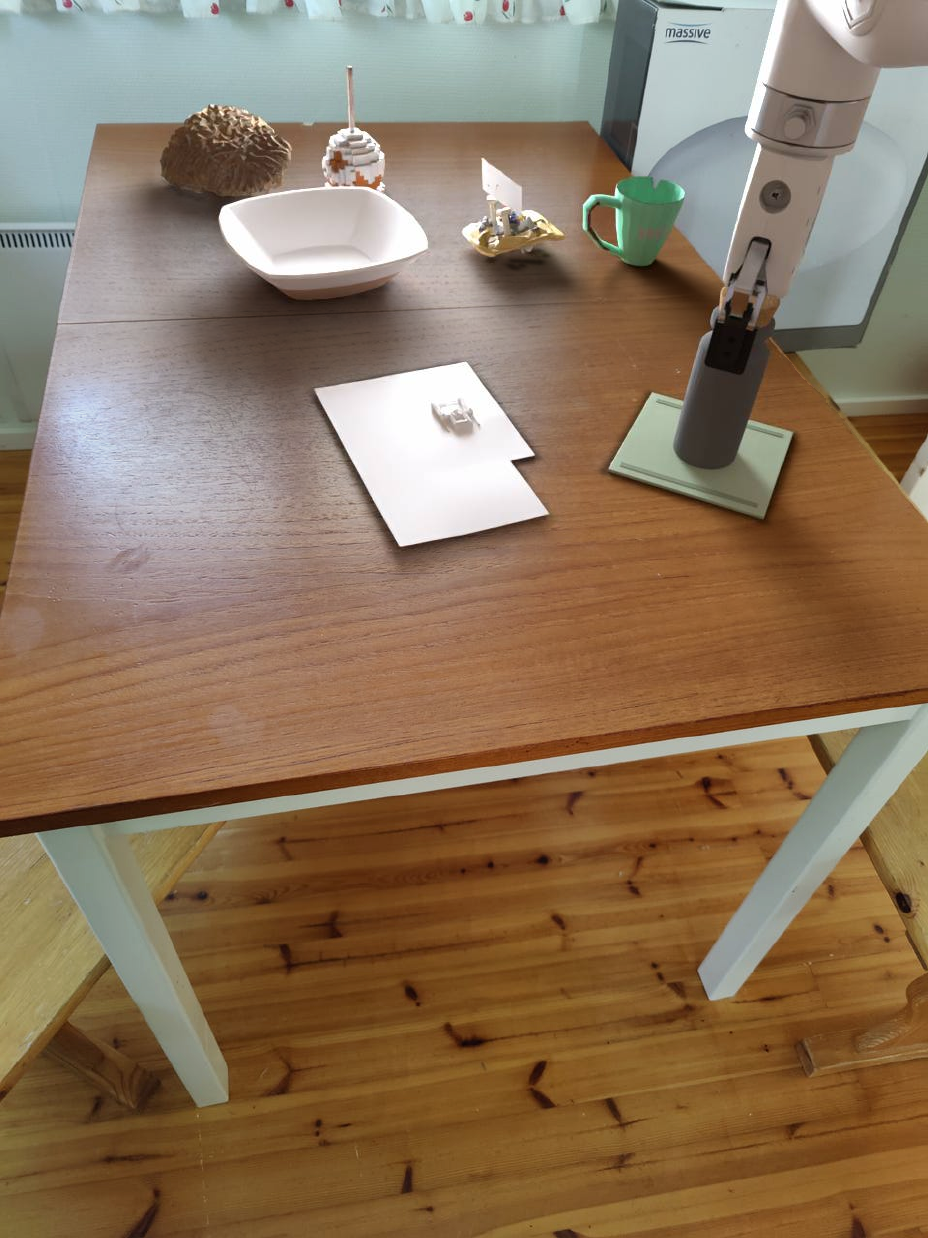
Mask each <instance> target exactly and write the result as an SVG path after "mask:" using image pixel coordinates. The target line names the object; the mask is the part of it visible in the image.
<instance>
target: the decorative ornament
mask: <svg viewBox="0 0 928 1238" xmlns="http://www.w3.org/2000/svg"><path fill="white" fill-rule="evenodd" d="M353 71H354V70H353V66H352V65H346V87H347V90H346V91H347V109H348V128H343V129H340V130H338V131H337V134H333V135H332V136H330V137H329V140H328V146H326V147H325V148H326V154H325V156H322V159H321V168H322V171H323V176H324V177H325V179H326V182H324V186H323V188H325V187H368V188H371V189H373V190H375V191H377V192H380V193H382V194H384V195H385V191H386V185H385V184H384V183H383V182H382V178H384V177H385V173H386V170H385V169H386V168H385V167H386V166H385V165H386V164H385V163H386V162H385V154H384V153H383V152H382V151H381V145H380V144H379V143H378V142H377V141H376V140H375V139H374V138H373V137H372V136H371V135H370V134H369V133H368V132H367V131H361V129H359V128H358V127H356V124H355V122H356V121H355V100H354V99H355V98H354V96H355V95H354V74H353V73H354V72H353Z"/></svg>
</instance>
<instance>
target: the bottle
mask: <svg viewBox="0 0 928 1238" xmlns="http://www.w3.org/2000/svg"><path fill="white" fill-rule="evenodd" d="M728 289H729V287H727V286H726V285H724V287H722V288H721V290H720V294H719V295H720V296H719V297H720V298H719V305H717V306H716V307H715V308H714V309H713V311H712V313H711V317H710V320H709V323H710V327H711V329H712V330H710V331H708V332H706V333H705V334H704V335H702V337H701V338H700V341H699V344H698V348H697V351H696V355H695V358H694V362H693V365H692V369H691V373H690V377H689V381H688V384H687V388H686V392H685V394H684V399H683V401H684V402H683V406H682V410H681V414H680V418H679V421H678V425H677V429H676V433H675V437H674V442H673V448H674V451H675V453H676V454H677V455H678V457H680V458H681V459H682V460H684V461H685V462H687V463H689V464H691V465H693V466H697V467H700V468H706V469H717V468H722V467H726V466H728V465H730V464H731V463H732V462H733V461H734V459H735V457H736V455H737V452H738V449H739V447H740V444H741V441H742V438H743V435H744V432H745V429H746V426H747V423H748V420H750V417H751V414H752V411H753V409H754V406H755V403H756V399H757V396H758V393H759V390H760V386H761V384H762V381H763V378H764V375H765V373H766V369H767V366H768V363H769V360H770V356H771V350H770V347H769V345H768V343H766V341H767V340H769V339H770V338H772V336H773V333H774V331H775V328H776V319H775V317H774V316H775V314H776V312H777V311H778V309H779V308H780V306H781V299H779V300H778V299H776V296H772V295H768V293H767V296H766V297H765V300H764V303H763V306H762V308H761V311H760V314H759V317H758V320H757V322H756V325H755V326H759V328H758V331H757V334H756V337H755V341H754V344H753V347H752V350H751V353H750V356H749V359H748V363H747V366H746V369H745V371H744V373H743V374H741V375H737V374H733V373H729V372H725V371H722V370H718V369H714V368H711V367H707V366H706V365H705V363H704V361H705V357H706V354H707V350H708V346H709V343H710V339H711V335H712V332H713V328H714V325H715V321H716V318H717V316H719V314H720V311H721V308H722V306H723V303H724V300H725V297H726V294H727V291H728ZM756 299H757V297H755V296H751V299H750V302H751V303H753V307H752V308H754V305H755V302H756Z"/></svg>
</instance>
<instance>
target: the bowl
mask: <svg viewBox="0 0 928 1238" xmlns="http://www.w3.org/2000/svg"><path fill="white" fill-rule="evenodd" d="M324 187H325V186H324ZM324 187H315V188H304V189H294V190H288V191H287V190H286V191H282V192H275V193H269V194H262V195H259V196H256V197H253V196H252V197H249V198H244V199H241V200H238V201H235V202H232V203H229V204H226V205H223V206H222V207H221V209H220V212H219V215H218V220H217V221H218V224H219V230H220V234H221V236H222V238H223V240H224V243H225V245H226V246H227V248H228V249H229V250H230V251H231V252H232V253H233V254H234V256H235V257H236V258H238V259H239V260H240V262H242V263H243V264H244V265H245V266H246V267H247V268H248V269H250V270H251V271H252V272H254V273H255V274H256V275H258V276H259V277H261V278H262V279H263V280H265V281H266V282H268V283H269V284H270V285H272V286H274V287H275V288H276V289H278V290H279V291H280V292H282V293H283V294H284V295H286V296H288V297H290V298H292V299H295V300H298V301H299V300H301V301H312V300H326V299H335V298H342V297H343V298H344V297H348V296H353V295H357V294H361V293H364V292H367V291H371V290H373V289H377V288H380V287H382V286H383V285H386V284H387V283H388V282H389V281H390V280H392V279H393V278H394V277H396V276H397V275H399V274H400V273H401V272H403V271H404V270H405V269H407V268H408V267H410V266H411V265H412V264H413V263H415V262H417V261H418V260H419V259H420V258H422V257H423V256H424V255H426V254H427V253H428V251H429V244H428V237H427V235H426V234H425V232H424V230H423V228H422V226H421V225H420V224H419V223H418V221H417V220H416V219H415V218H414V216H413V215H412V214H411V213H410V212H408V210H406V209H405V207H403V206H402V205H400V204H399V203H397V202H396V201H395V200H393V199H391V198H390V197H389V196H387V195H386V194H385V193H384V194H382V193H380V192H377V191H375V190H373V189H371V188H368V187H325V188H324Z"/></svg>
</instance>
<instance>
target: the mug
mask: <svg viewBox="0 0 928 1238" xmlns="http://www.w3.org/2000/svg"><path fill="white" fill-rule="evenodd" d="M685 196H686V192H685V190H684V188H682V186H680V185H678V183H675V182H672V181H670V180H668V179H664V178H661V179H660V180H659V181H658V184H657V186H656V187H654V178H653V177H652V176H639V175H638V176H630V177H626V178H624V179H621V180H619V181H618V182H617V183H616V186H615V192H614V196H613V195H609V194H608V195H607V194H603V193H601V194H591V195H590V196H589V198H588V199H587V200H586V201H585V202H584V203H583V204H582V229H583V231H584V232H585V233H586V234H587V235H588V237H589V238H590V239H591V240H592V242H593V243H594V244H595V245H596V247H598V249H599V250H601V251H603V252H606V253H609V254H611V255H613V256H616V257H618V258H621V260H622V261H623V262H624V263H626V264H628V265H631V266H635V267H646V266H650V265H652V264H653V262H655V260H656V258H657V256H658V255H659V254H660V252H661V251H662V249H663V247H664V245H665V243H666V242H667V240H668V237H669V236H670V234H671V232H672V229H673V227H674V224H675V222H676V220H677V218H678V216H679V213H680V210H681V209H682V208H683V204H684V201H685ZM597 207H608V208H612V209H615V228H616V237H617V245H618V246H616V245H614V244H611V243H609V242H607V241H604V240H602V238H601V237H600V236H599V234H598V233H597V232H596V230H595V229H594V227H593V226H592V212H593V210H595V208H597Z"/></svg>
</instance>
